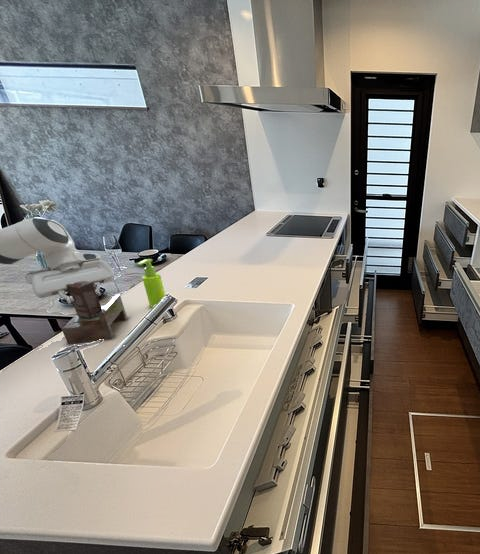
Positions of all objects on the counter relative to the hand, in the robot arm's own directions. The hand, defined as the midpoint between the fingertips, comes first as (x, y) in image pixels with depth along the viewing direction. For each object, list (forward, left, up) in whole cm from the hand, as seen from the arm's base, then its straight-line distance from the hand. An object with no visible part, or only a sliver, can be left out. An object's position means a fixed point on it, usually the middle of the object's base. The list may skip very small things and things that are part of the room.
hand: (85, 298), depth 101 cm
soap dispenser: (+15, +16, -13) cm, 25 cm away
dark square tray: (+1, +1, -13) cm, 13 cm away
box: (0, +1, -7) cm, 7 cm away
